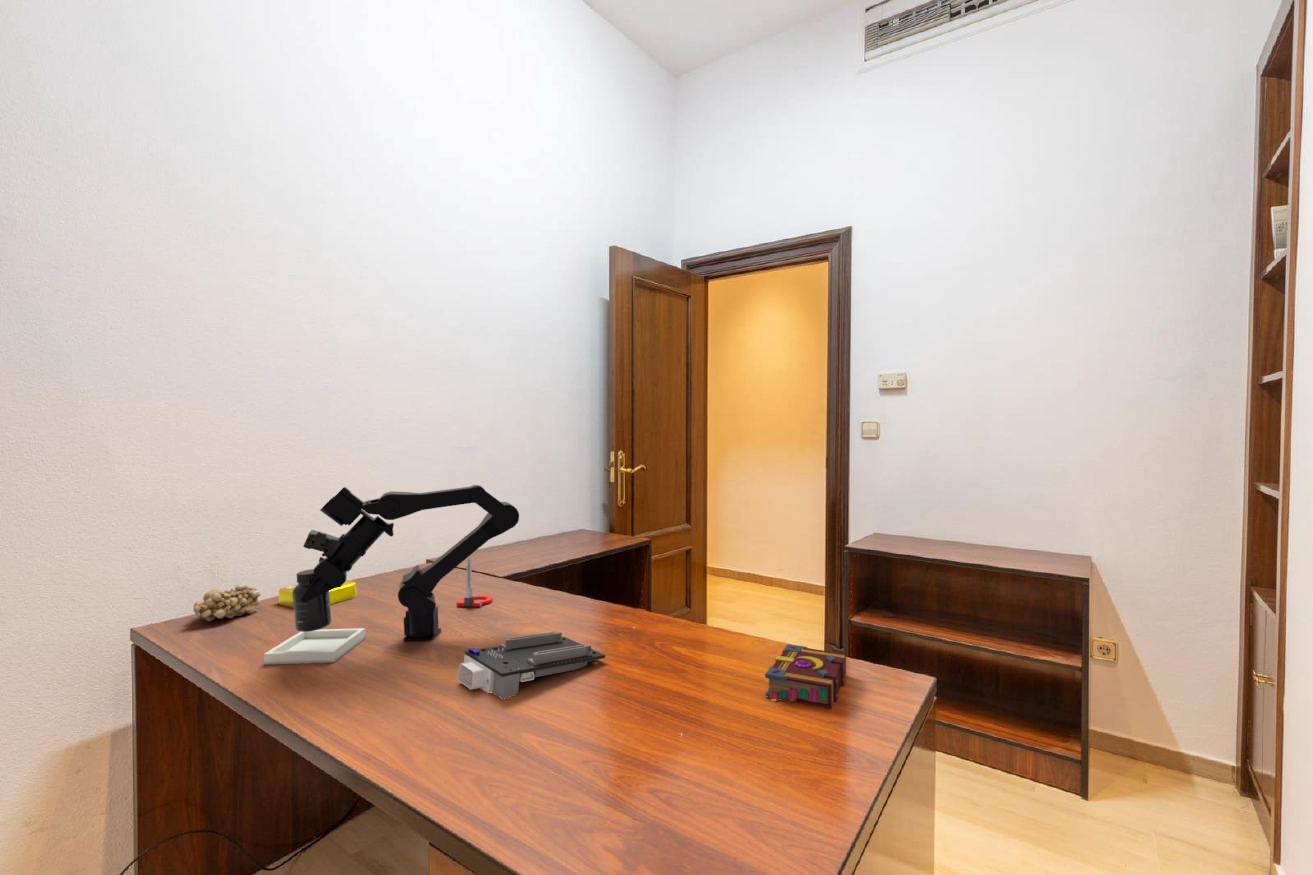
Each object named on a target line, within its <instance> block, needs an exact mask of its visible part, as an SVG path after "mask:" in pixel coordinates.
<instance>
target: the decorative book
mask: <svg viewBox="0 0 1313 875" xmlns="http://www.w3.org/2000/svg"><path fill="white" fill-rule="evenodd" d="M802 648H803V649H802ZM816 651H817V652H816ZM774 660H775V661H774V664H773V665H770V666H769V668H768V669H767V671H765V673H764V675H765V676H764V678H765V679H768V689H767V690H766V692H765V697H766V696H768V697H770V698H771V699H776V700H778V699H782V700H787V701H788V700H793V701H792V702H794V701H795V703H800V704H804V705H810V706H816V707H820V708H825V709H830V710H831V709H832V707H833V705H834V703H837V701H838V699H839V691H840V690H841V687H842V688H843V687H844V685H845V683H846V675H847V654H846V653H841V652H835V651H830V650H829V651H828V650H821V649H817V648H816V649H815V648H809V647H807V646H803V645H797V644H789V643H787V644H786V646H785V647H784V648H783V650H782V653H781V654H780V655H777V656H776V657H775V658H774ZM770 698H769V699H770ZM778 701H779V700H778Z"/></svg>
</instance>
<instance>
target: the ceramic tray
mask: <svg viewBox="0 0 1313 875" xmlns="http://www.w3.org/2000/svg"><path fill="white" fill-rule="evenodd" d="M365 639H366V627H365V628H363V627H362V628H359V627H358V628H332V629H329V628H328V629H327V628H326V629H325V628H322V629H319V630H315V631H309V632H300V631H298V633H296V634H294V635H292V636H291V637H289V638H288V639H286V640H285V641H283V642H281V643H279V644H277V645H276V646H274V647H273V648H271V649H270V650H268V651H266V652H265V653H264V654H263V659H264V665H265V666H266V665H292V664H293V665H294V664H297V665H299V664H300V665H301V664H328V663H331V664H333V663H335V662H336V661H337V660H339V659H340V658H341V657H343V656H344V655H345V654H347V653H348V652H349V651H350V650H351V649H353V648H355V647H356V646H357V645H358V644H359V643H361V642H362V641H363V640H365Z"/></svg>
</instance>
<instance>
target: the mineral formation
mask: <svg viewBox="0 0 1313 875" xmlns="http://www.w3.org/2000/svg"><path fill="white" fill-rule="evenodd" d="M260 597H261V593H260V590H259V588H258V587H253V585H252V584H247V583H246V584H245V585H244V586H243V585H241V584H239V585H235V587H234V588H230V590H229V589H225V590H224V591H222V590H219V589H217V588H216V589H215V588H214V589H212V590H210V591H207V592H206V593H205V594H204V595H203V597H202V601H196V602H194V604H193V612H194V614H195V616H197V618H200V619H201V618H202V619H204V620H205V621H206V622H213V621H215V620H216V618H217V619H218V620H223V619H224V618H227V619H233V618H234V617H239V616H240V617H241V616H243V615H245V613H246V614H247V615H252V614H253V613H254V612H256V610H257V607H258V606H260V604H261V603H262V600H261V599H260ZM212 620H213V621H212Z"/></svg>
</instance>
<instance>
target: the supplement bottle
mask: <svg viewBox="0 0 1313 875" xmlns="http://www.w3.org/2000/svg"><path fill="white" fill-rule="evenodd" d="M313 570H314V568H313V569H311V568H310V569H306V570H302V571H301V570H300V571H299V572H297V573H296V583H297V584H298V585H297V584H296V585H297V586H296V587H295V588H294V589H293V606H294V608H293V614H294V615H293V616H294V627H295V630H296V631H298V632H309V631H315V630H323V629H325V628H327V627H328V626H330V625H331V624H332V621H333V620H332V607H331V605H332V604H330V592H329V591H328V592H326V593H324V594H322V595H320V596H318V597H316V598H314V599H312V600H310V601H308V602H306V603H303V602H301V601H300V599H301V598H302V596H303V595H304V593H305V592H306V590H307V589H308V587H309V586H310V584H311V583H312V581H313V580H314V573H313Z"/></svg>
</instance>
